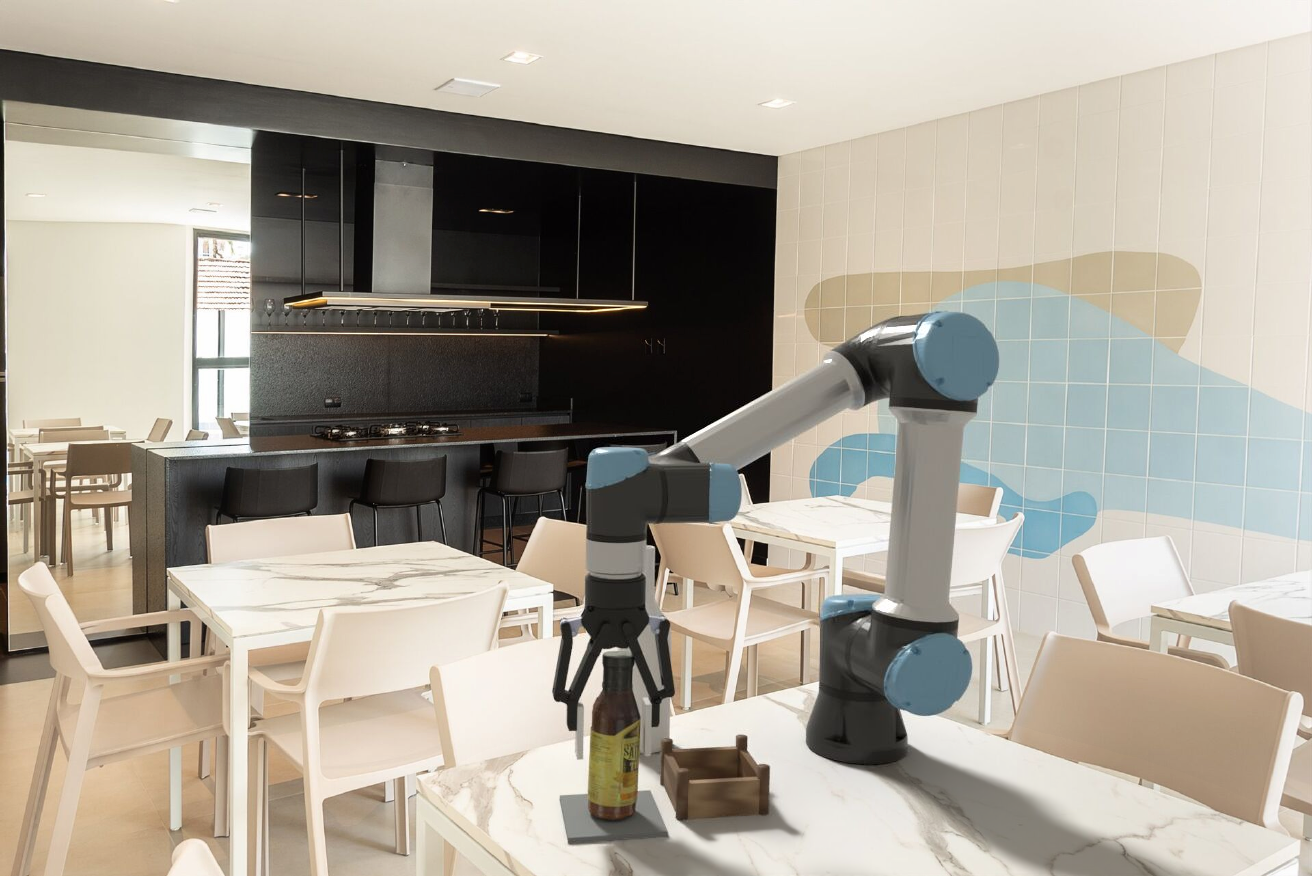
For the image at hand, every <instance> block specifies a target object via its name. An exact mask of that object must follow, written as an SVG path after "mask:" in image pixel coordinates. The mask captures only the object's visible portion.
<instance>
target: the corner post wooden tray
mask: <svg viewBox="0 0 1312 876" xmlns="http://www.w3.org/2000/svg"><path fill="white" fill-rule="evenodd" d="M673 745H674V741H673V739H672V738H670V737H669V738H663V739H661V751H660V768H659V769H660V771H659V773H660V774H659V775H660V776H659V777H660V779H659V781H660V782H659V784H660V785H661V786H663V789H664V790H665V792H666V794H667V797H668V799H669V801H670V803H671V806H672V807H673V809H674V812H675V819H676V820H678V821H686V820H689V819H690V820H691V819H707V818H709V819H710V818H724V817H737V816H741V817H742V816H753V815H755V816H756V815H759V816H767V815H769V812H770V785H771V783H770V780H771V779H770V778H771V766H770V764H766V763H759V764H758V763H757V762H756V760H755V759H754V757H753V756H752V754H750V752H749V750H748V735H745V734H736V735H735V745H734V746H733V745H731V746H714V747H712V746H711V747H695V748H694V747H693V748H690V747H689V748H674V747H673Z"/></svg>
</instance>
